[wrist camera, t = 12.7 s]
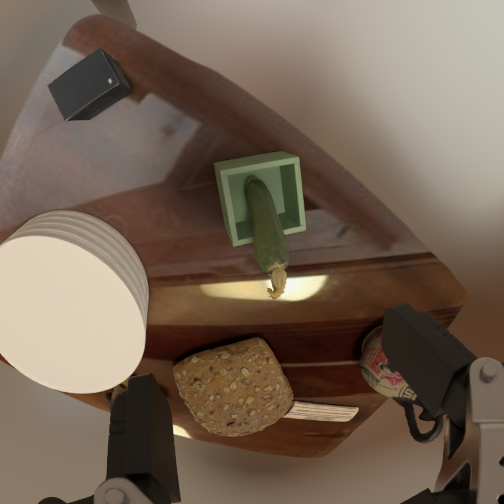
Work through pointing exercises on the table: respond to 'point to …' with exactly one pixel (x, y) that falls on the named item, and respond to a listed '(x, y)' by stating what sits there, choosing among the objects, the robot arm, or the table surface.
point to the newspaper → (320, 412)
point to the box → (89, 87)
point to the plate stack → (72, 302)
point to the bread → (234, 387)
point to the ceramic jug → (394, 385)
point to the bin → (278, 183)
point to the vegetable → (267, 235)
